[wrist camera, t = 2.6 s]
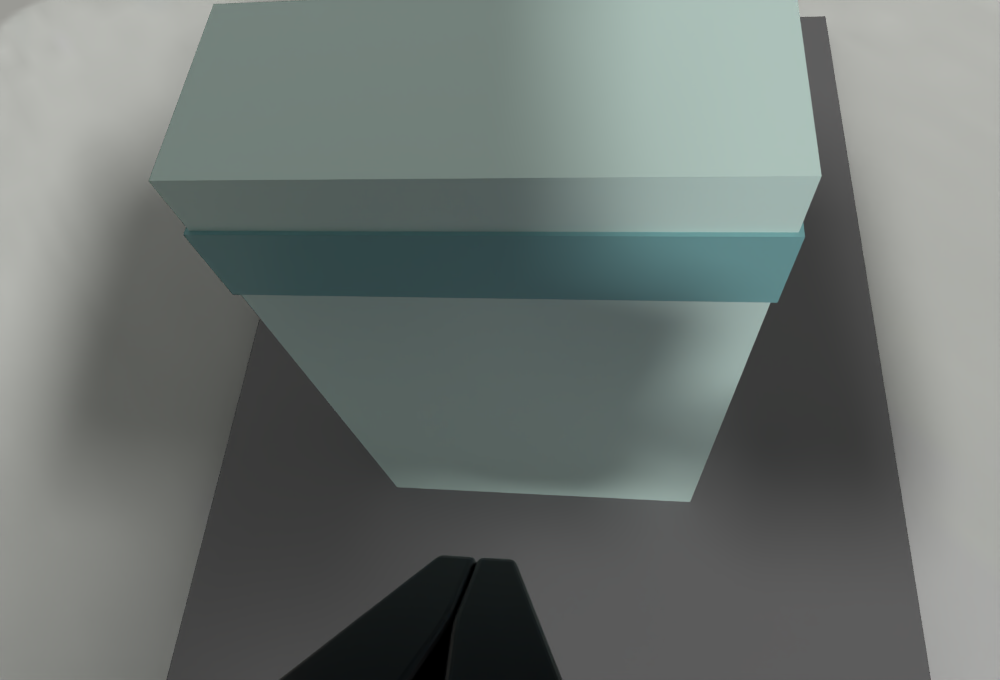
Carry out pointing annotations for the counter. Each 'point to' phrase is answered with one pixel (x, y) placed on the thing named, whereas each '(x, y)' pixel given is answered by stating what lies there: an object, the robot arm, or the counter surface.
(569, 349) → the carton
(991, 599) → the counter surface
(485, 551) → the mat
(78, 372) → the counter surface
